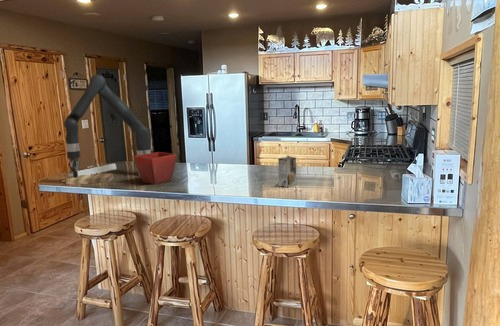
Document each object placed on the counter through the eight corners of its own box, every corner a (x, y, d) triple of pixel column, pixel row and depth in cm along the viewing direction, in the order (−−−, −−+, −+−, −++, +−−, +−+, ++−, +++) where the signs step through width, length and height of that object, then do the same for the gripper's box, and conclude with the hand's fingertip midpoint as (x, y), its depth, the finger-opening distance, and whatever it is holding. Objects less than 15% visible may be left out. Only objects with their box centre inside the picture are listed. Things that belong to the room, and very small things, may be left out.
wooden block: (113, 177, 243) (113, 173, 242) (108, 182, 229) (108, 177, 229) (96, 178, 241) (95, 174, 241) (90, 183, 228) (89, 178, 227)
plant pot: (152, 186, 216) (150, 158, 213) (134, 182, 228) (132, 155, 225) (178, 180, 230) (177, 154, 227) (160, 177, 242) (158, 151, 239)
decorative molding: (69, 181, 252) (78, 178, 247) (67, 174, 251) (76, 171, 247) (108, 172, 282) (116, 169, 277) (106, 166, 281) (115, 163, 277)
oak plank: (95, 178, 241) (95, 174, 241) (89, 183, 228) (89, 178, 227) (73, 180, 239) (72, 175, 239) (66, 184, 226) (65, 180, 225)
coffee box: (287, 183, 214) (286, 156, 211) (296, 184, 210) (296, 157, 207) (278, 186, 207) (277, 158, 205) (287, 187, 203) (287, 159, 201)
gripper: (76, 151, 224) (78, 179, 227) (82, 148, 237) (85, 175, 240) (63, 152, 223) (66, 179, 226) (70, 149, 236) (72, 175, 238)
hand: (75, 177), depth 233 cm, fingers closed
